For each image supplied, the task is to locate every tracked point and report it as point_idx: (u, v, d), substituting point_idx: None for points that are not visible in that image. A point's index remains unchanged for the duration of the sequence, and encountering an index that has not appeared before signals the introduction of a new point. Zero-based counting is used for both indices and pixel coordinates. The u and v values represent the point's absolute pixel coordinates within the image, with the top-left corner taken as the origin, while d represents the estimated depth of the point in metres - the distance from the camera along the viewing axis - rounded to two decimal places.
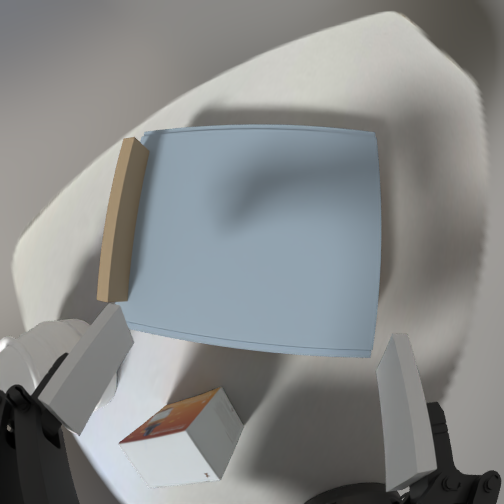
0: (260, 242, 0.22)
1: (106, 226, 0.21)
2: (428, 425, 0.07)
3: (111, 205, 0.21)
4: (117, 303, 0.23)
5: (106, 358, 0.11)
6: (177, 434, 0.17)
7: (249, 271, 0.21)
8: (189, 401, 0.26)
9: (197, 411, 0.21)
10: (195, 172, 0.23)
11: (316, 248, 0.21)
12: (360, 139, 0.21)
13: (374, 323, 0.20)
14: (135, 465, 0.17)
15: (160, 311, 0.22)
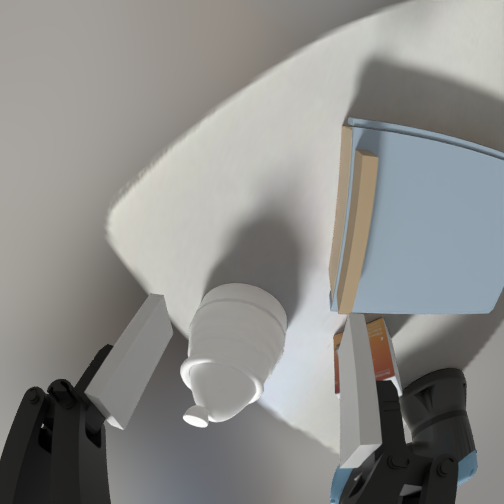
0: (459, 250, 0.22)
1: (352, 256, 0.21)
2: (376, 400, 0.08)
3: (357, 236, 0.20)
4: (336, 297, 0.27)
5: (150, 348, 0.12)
6: (388, 379, 0.27)
7: (448, 270, 0.23)
8: None
9: (386, 352, 0.30)
10: (421, 186, 0.20)
11: (487, 255, 0.21)
12: None
13: (498, 296, 0.23)
14: None
15: (379, 299, 0.26)
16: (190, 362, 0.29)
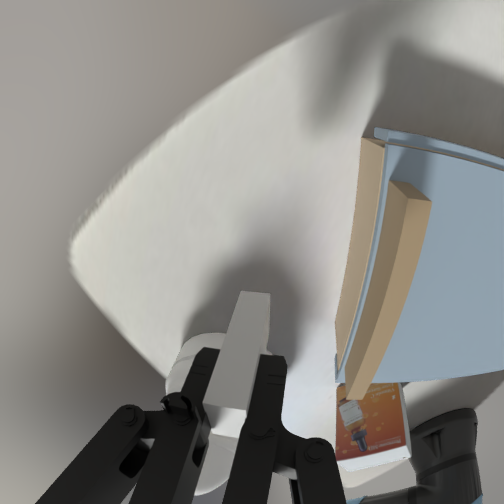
0: (501, 310, 0.14)
1: (373, 341, 0.14)
2: (255, 370, 0.10)
3: (384, 317, 0.13)
4: (344, 370, 0.19)
5: None
6: (398, 448, 0.19)
7: (485, 332, 0.16)
8: (370, 389, 0.28)
9: (398, 415, 0.23)
10: (473, 235, 0.13)
11: None
12: None
13: None
14: (345, 466, 0.23)
15: (397, 370, 0.19)
16: None
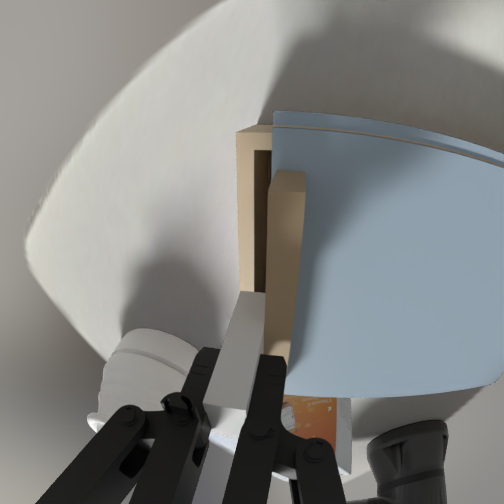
0: (461, 325, 0.14)
1: None
2: (254, 370, 0.10)
3: (272, 332, 0.12)
4: None
5: None
6: None
7: (440, 350, 0.15)
8: (307, 397, 0.27)
9: (331, 429, 0.22)
10: (408, 234, 0.12)
11: (501, 325, 0.13)
12: None
13: None
14: (276, 475, 0.22)
15: (331, 385, 0.18)
16: (90, 419, 0.20)
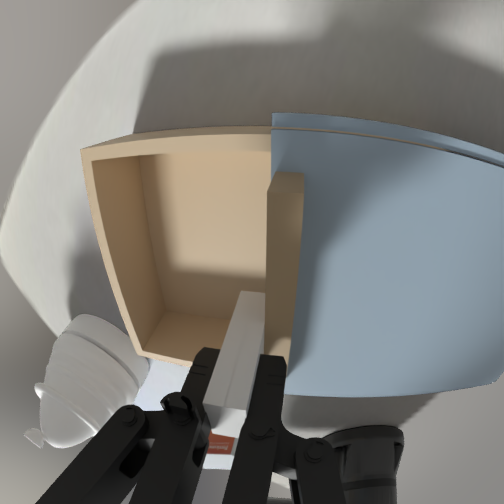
0: (460, 324, 0.14)
1: None
2: (254, 370, 0.10)
3: (272, 332, 0.12)
4: None
5: None
6: (224, 455, 0.20)
7: (440, 349, 0.15)
8: None
9: None
10: (406, 234, 0.12)
11: (501, 324, 0.13)
12: None
13: None
14: None
15: (332, 385, 0.18)
16: (35, 388, 0.22)
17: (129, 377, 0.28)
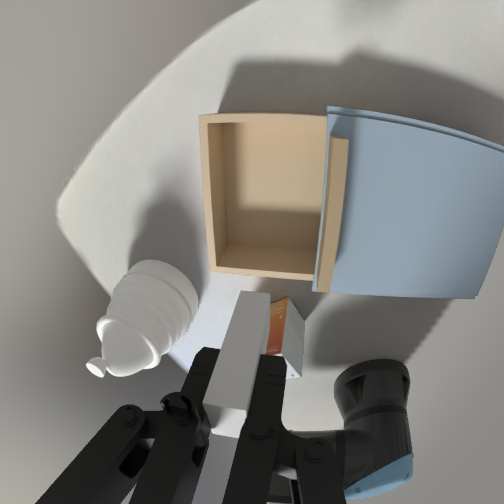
0: (437, 233, 0.24)
1: (327, 233, 0.23)
2: (255, 370, 0.10)
3: (331, 214, 0.22)
4: (316, 277, 0.29)
5: None
6: None
7: (427, 252, 0.25)
8: None
9: (280, 329, 0.34)
10: (395, 169, 0.22)
11: (468, 238, 0.23)
12: None
13: (482, 282, 0.25)
14: None
15: (358, 280, 0.28)
16: (100, 322, 0.32)
17: (186, 308, 0.38)
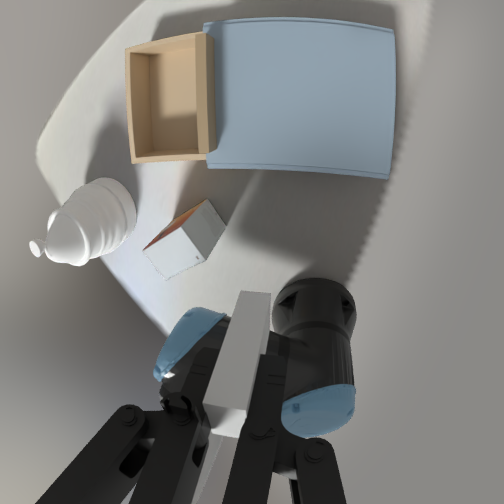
0: (314, 101, 0.27)
1: (197, 100, 0.26)
2: (255, 370, 0.10)
3: (198, 84, 0.25)
4: None
5: None
6: (176, 230, 0.34)
7: (308, 120, 0.28)
8: (186, 212, 0.42)
9: (189, 215, 0.37)
10: (259, 53, 0.25)
11: (352, 106, 0.27)
12: (382, 34, 0.21)
13: (390, 157, 0.28)
14: (154, 263, 0.37)
15: (245, 152, 0.31)
16: (49, 218, 0.35)
17: (121, 211, 0.42)
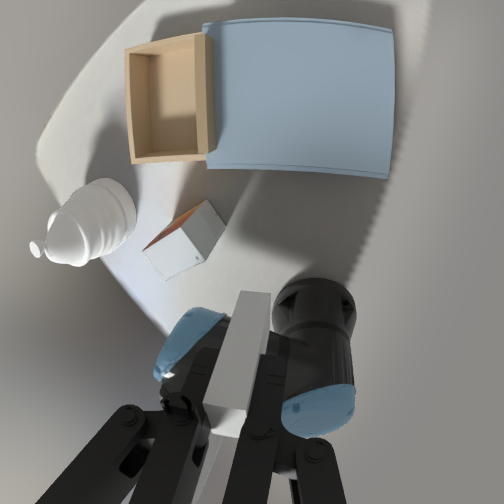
0: (313, 101, 0.27)
1: (197, 100, 0.26)
2: (255, 370, 0.10)
3: (198, 85, 0.26)
4: None
5: None
6: (175, 231, 0.34)
7: (307, 120, 0.28)
8: (186, 213, 0.42)
9: (189, 215, 0.37)
10: (258, 53, 0.25)
11: (351, 106, 0.27)
12: (381, 34, 0.21)
13: (390, 157, 0.28)
14: (154, 264, 0.37)
15: (245, 152, 0.31)
16: (49, 218, 0.35)
17: (121, 212, 0.42)
